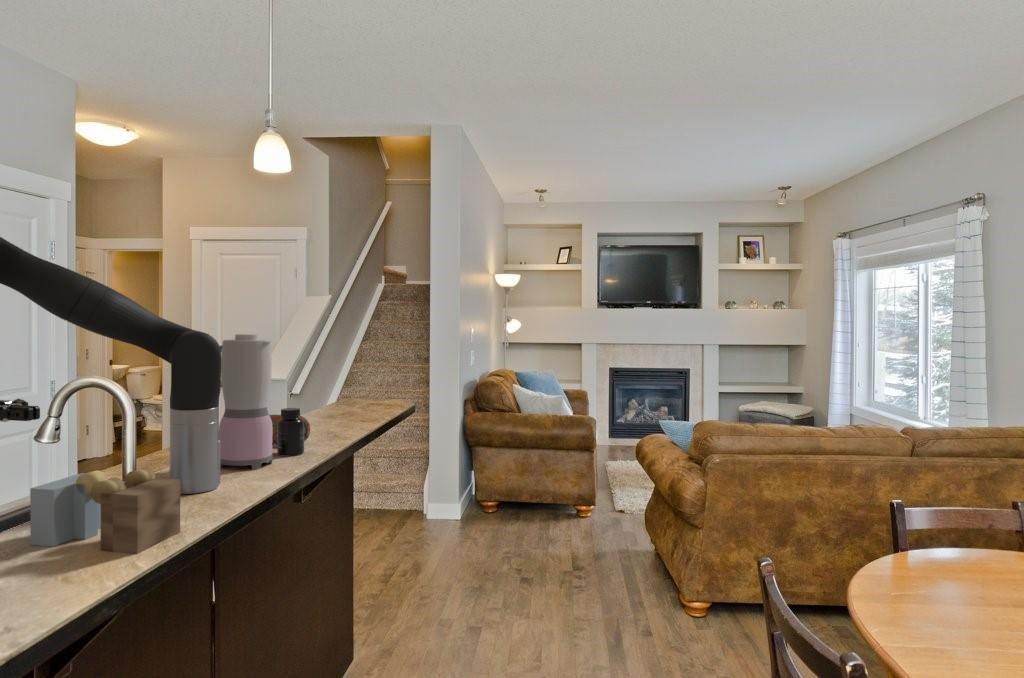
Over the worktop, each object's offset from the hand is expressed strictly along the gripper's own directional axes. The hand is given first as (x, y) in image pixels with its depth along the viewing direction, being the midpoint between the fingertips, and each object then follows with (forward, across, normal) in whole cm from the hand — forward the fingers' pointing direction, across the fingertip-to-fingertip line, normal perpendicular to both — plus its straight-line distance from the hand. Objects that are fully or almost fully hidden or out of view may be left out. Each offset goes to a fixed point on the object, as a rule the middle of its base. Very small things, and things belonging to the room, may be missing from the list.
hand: (34, 413), depth 104 cm
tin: (+3, +78, +20) cm, 81 cm away
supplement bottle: (+11, +66, +20) cm, 70 cm away
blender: (+5, +52, +20) cm, 56 cm away
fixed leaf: (+18, 0, +20) cm, 27 cm away
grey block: (+8, 0, +20) cm, 21 cm away
